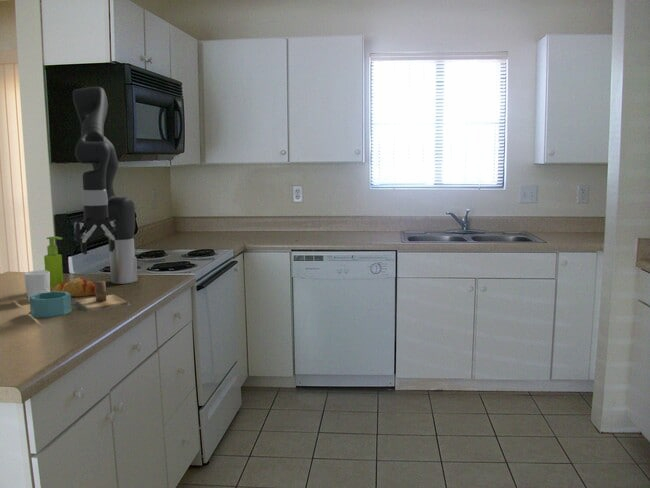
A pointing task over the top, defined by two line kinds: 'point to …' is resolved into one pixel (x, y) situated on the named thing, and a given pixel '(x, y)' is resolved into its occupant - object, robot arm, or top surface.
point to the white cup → (37, 282)
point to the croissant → (76, 287)
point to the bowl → (50, 304)
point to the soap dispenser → (54, 262)
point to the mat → (97, 309)
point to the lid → (101, 299)
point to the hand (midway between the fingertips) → (98, 252)
